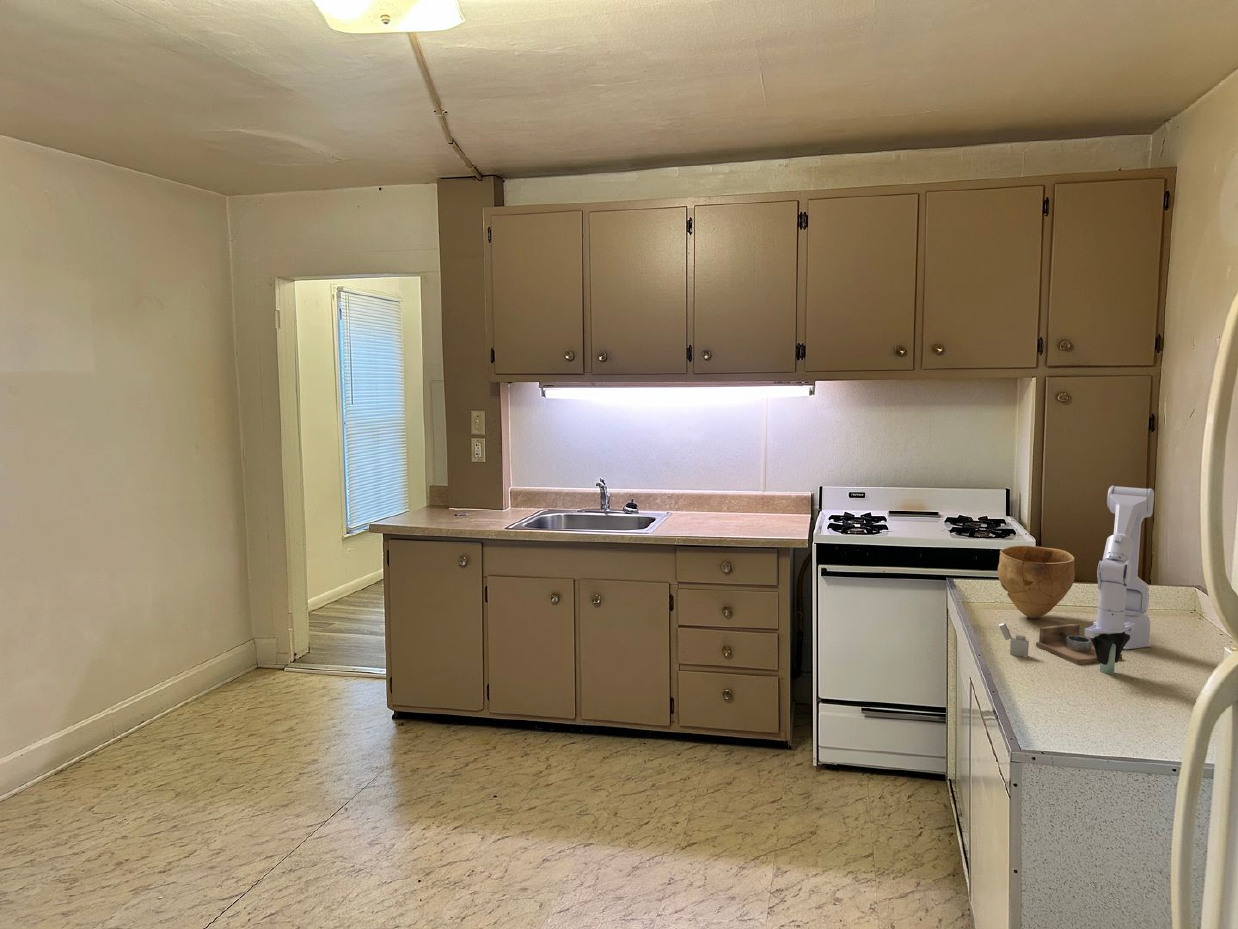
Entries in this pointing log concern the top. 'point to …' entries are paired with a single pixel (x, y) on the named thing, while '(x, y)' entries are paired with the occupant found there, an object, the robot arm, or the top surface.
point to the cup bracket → (1067, 643)
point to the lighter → (1015, 642)
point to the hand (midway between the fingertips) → (1107, 662)
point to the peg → (1109, 662)
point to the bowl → (1035, 577)
